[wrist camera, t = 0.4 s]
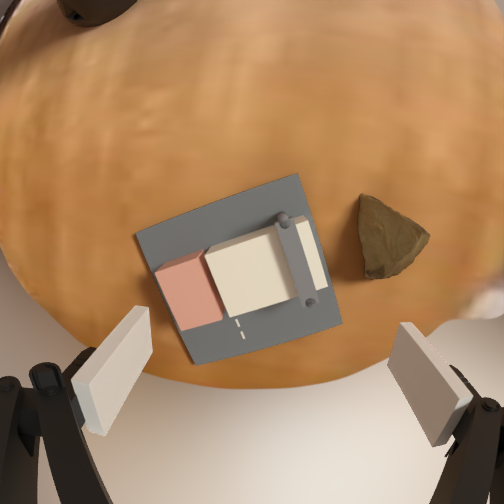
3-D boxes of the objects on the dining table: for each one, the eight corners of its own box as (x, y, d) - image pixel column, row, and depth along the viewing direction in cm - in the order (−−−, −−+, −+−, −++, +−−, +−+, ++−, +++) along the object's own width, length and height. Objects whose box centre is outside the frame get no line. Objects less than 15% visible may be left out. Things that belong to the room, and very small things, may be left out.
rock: (395, 298, 38) (436, 236, 34) (380, 310, 31) (431, 234, 28) (337, 252, 44) (372, 192, 40) (309, 254, 37) (351, 181, 33)
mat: (138, 231, 40) (135, 233, 38) (296, 173, 37) (297, 173, 36) (197, 361, 44) (195, 366, 43) (341, 320, 42) (342, 324, 41)
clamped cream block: (207, 236, 38) (197, 247, 33) (299, 204, 37) (306, 210, 31) (236, 311, 41) (232, 331, 35) (323, 283, 39) (332, 300, 34)
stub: (165, 262, 39) (154, 272, 35) (203, 248, 39) (196, 258, 34) (188, 315, 41) (181, 331, 37) (226, 304, 40) (221, 319, 36)
